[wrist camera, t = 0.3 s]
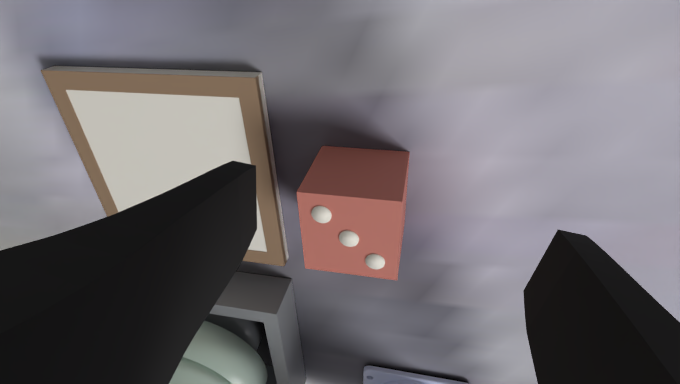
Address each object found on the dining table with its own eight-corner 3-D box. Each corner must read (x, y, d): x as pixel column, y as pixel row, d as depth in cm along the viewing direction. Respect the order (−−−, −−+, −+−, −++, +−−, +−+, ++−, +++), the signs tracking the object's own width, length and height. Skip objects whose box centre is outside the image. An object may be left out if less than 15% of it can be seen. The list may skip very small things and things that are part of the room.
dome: (275, 405, 30) (259, 451, 27) (168, 383, 32) (143, 424, 29) (257, 328, 25) (234, 376, 22) (131, 307, 27) (96, 349, 24)
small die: (404, 222, 22) (396, 281, 18) (327, 214, 23) (304, 269, 19) (409, 150, 19) (402, 202, 16) (322, 145, 20) (296, 192, 17)
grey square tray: (306, 379, 33) (295, 414, 31) (179, 355, 35) (160, 386, 33) (291, 279, 26) (276, 314, 24) (137, 257, 29) (108, 287, 26)
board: (288, 257, 25) (284, 266, 25) (127, 236, 28) (120, 244, 27) (261, 72, 19) (254, 77, 18) (53, 65, 21) (40, 70, 20)
